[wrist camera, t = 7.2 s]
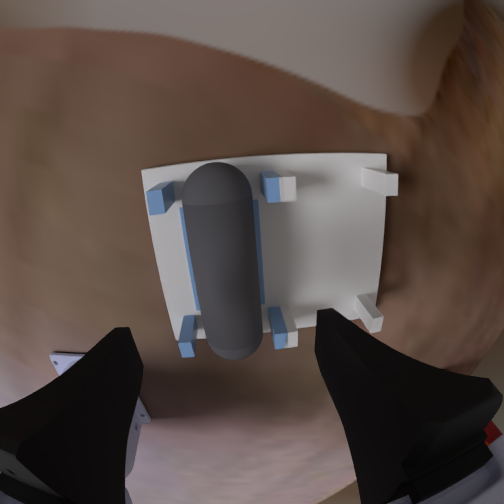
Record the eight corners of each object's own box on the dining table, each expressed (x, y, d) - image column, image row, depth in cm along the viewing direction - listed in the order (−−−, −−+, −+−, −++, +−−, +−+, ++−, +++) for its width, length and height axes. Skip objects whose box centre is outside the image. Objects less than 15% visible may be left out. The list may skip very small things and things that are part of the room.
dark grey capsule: (261, 333, 20) (267, 368, 17) (211, 338, 20) (209, 373, 17) (247, 156, 16) (251, 160, 12) (183, 163, 16) (170, 170, 12)
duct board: (368, 308, 22) (390, 338, 18) (177, 332, 21) (170, 368, 17) (379, 152, 17) (412, 158, 14) (145, 168, 16) (124, 176, 13)
